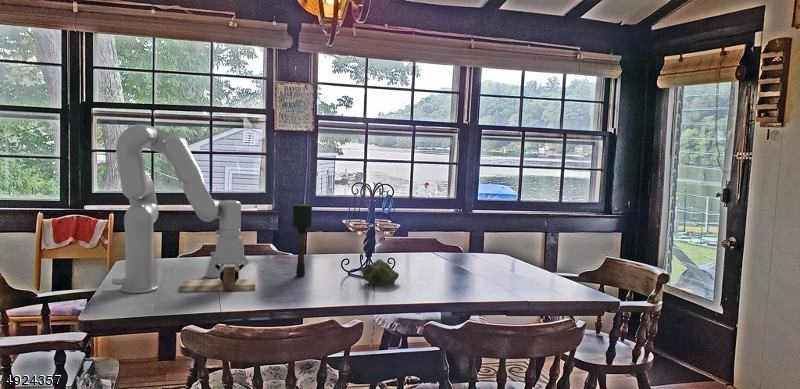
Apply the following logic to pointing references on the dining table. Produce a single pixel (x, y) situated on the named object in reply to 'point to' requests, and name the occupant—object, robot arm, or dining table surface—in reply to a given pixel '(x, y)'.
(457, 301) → the dining table surface
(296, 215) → the potato masher grenade
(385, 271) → the decorative rock
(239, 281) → the board
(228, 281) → the brown wooden block
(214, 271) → the flask
